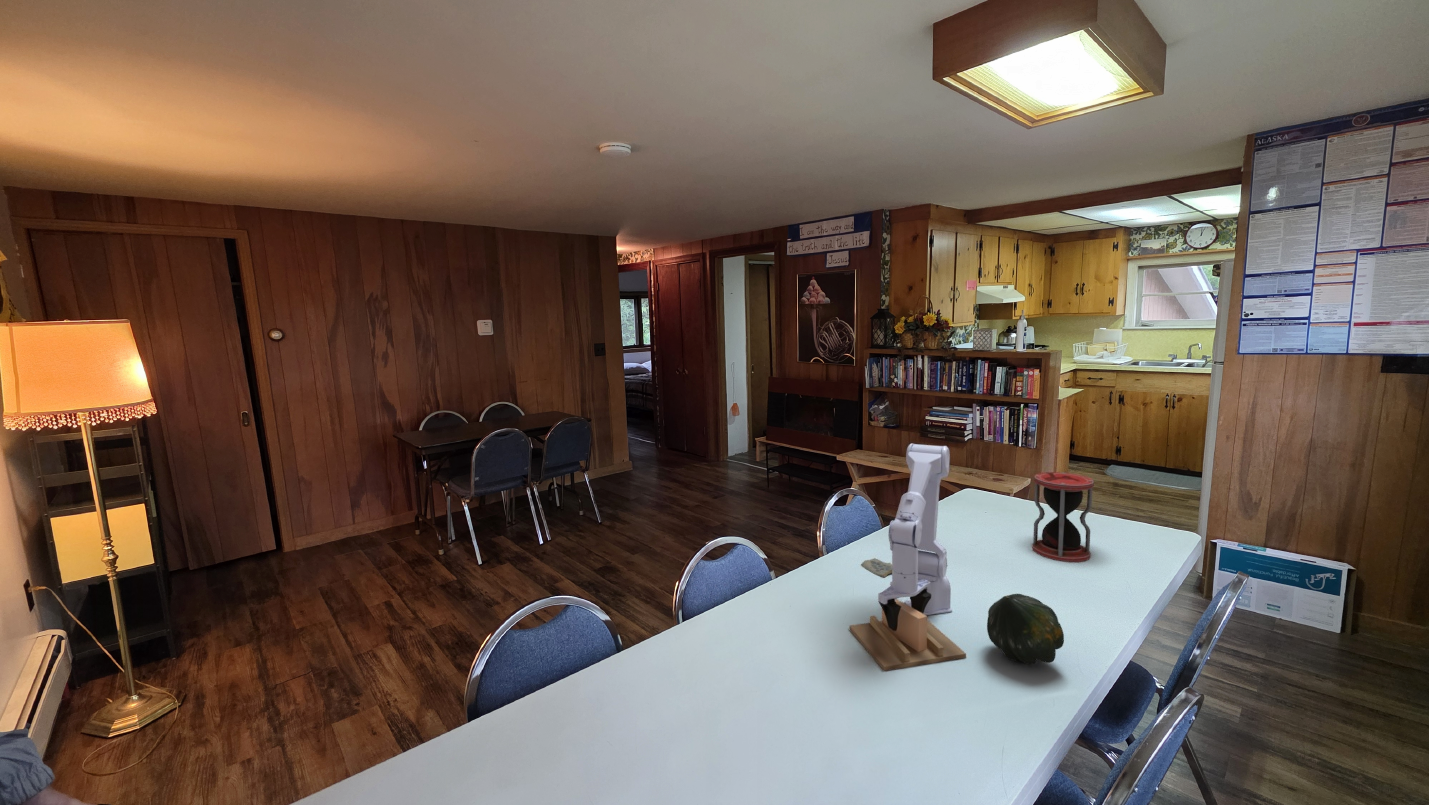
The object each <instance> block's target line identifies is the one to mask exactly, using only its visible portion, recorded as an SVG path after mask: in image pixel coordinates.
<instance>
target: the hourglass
mask: <svg viewBox="0 0 1429 805" xmlns="http://www.w3.org/2000/svg"><path fill="white" fill-rule="evenodd" d="M1033 477H1034V479H1033V480H1034V482H1035V484H1034V504H1035V506H1036V507H1037V508H1038V511H1039V515H1038V518H1036V519H1035V521H1034V522H1033V538H1032V539H1033V541H1032V543H1031V548H1032V551H1033V552H1035V553H1036V554H1037V555H1039V556H1041V557H1043V558H1046V559H1049V560H1053V561H1058V562H1063V563H1069V564H1070V563H1073V564H1074V563H1076V564H1077V563H1079V564H1080V563H1083V562H1087V561H1090V559H1091V554H1092V553H1091V551H1090V548H1091V547H1090V546H1091V544H1090V543H1091V528H1090V526H1088V524H1087V523H1086V516H1087V515H1088V514H1089V512H1091V509H1092V505H1093V504H1092V503H1093V502H1092V501H1093V500H1092V499H1093V488H1094V485H1095V482H1094V480H1093V479H1092V478H1090V477H1088V476H1084V475H1082V474H1075V473H1069V472H1059V471H1057V472H1056V471H1055V472H1054V471H1053V472H1049V471H1048V472H1040V473H1036V474H1034V476H1033ZM1040 486H1041V487H1043V491H1042V492H1043V499H1044V502H1046V504H1047V506H1048V507H1049V508H1050V509H1051V510H1052V511H1053V512H1054V513H1055V514H1056V517H1053V519H1052V520H1050V521H1049V522H1048V523H1047V524H1046V525H1045V526H1044V527H1043V529H1042V532H1041V539H1038V530H1039V523H1040V522H1041V521H1042V520H1043V519H1044V517H1045V510H1044V509H1045V508H1043V506H1041V504H1040ZM1085 490H1086V491H1087V498H1086V500H1087V501H1086V508H1085V509H1084V510H1083V511H1082V512H1081V514H1080V516H1079V521H1080V524H1081V525H1082V526H1083V527H1084V529H1085V543H1084V544H1085V546H1083V545H1081V544H1082V537H1081V533H1080V531H1079V529H1078V528H1077V527H1076V526H1075V524H1074V523H1073V522H1072V521H1071V520H1070V519H1069V518H1068V517H1067V516H1069V515H1070V514H1071V513H1072V512H1074V511H1075V510H1076V509H1078V508H1079V507H1080V505H1081V504H1082V502H1083V499H1084V493H1083V492H1084V491H1085Z"/></svg>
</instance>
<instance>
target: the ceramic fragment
mask: <svg viewBox="0 0 1429 805" xmlns="http://www.w3.org/2000/svg"><path fill="white" fill-rule="evenodd" d="M860 566H861V567H862V568H864V569H865V570H867V571H868V572H870V573H872V574H874V575H876V576H878V577H881V578H886V577H887V576H888V575H889V574H892V562H884V561H881V560H880V559H878V558H871V559H867V560H864V561H863V562H862V563H861V564H860Z"/></svg>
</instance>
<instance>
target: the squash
mask: <svg viewBox="0 0 1429 805" xmlns="http://www.w3.org/2000/svg"><path fill="white" fill-rule="evenodd" d="M986 631H987V635H988V638H989V640H990V641H991V642H992V643H993V645H994V646H995V647H996V648H998V649H999V650H1001V651H1002V653H1003V655H1004V657H1006V658H1007V659H1009V660H1012V661H1013V662H1015V663H1016V662H1017V663H1018V662H1022V663H1024V664H1026V665H1033V664H1034V663H1036V661H1037V660H1038V661H1040V662H1043V663H1045V664H1049V663H1053V662H1054V661H1055V659H1056V652H1057V651H1056V650H1058V649H1061V648H1062V647H1063V646H1064V644H1065V635H1064V631H1063V627H1062V625H1061V623H1060V622H1059V619H1058V616H1057V614H1056V613H1055V611H1054V609H1052V607H1050V606H1048V605H1047V604H1044V602H1042V601H1041V600H1039V599H1037V598H1035V597H1031V596H1029V595H1025V594H1022V593H1013V594H1008V595H1004V596H1002V597H1001V598H1000V599H998V600H996V601H995V602H993V603H992V605H990V607H989V609H988V611H987V621H986Z"/></svg>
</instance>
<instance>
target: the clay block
mask: <svg viewBox="0 0 1429 805" xmlns="http://www.w3.org/2000/svg"><path fill="white" fill-rule="evenodd" d="M895 602H896V604H898V605H900V606H901V609H900V612H899V615H898V627H897V630H896V631H893V630H892V629H890V628H889V627H888V623H887V619H886V616H885V613H884V611H883V609H882V608H881V621H882V624H883V625H884V626H885V627H886V628H887V629H888V630H889V631H890V632H891V633H892V634H893V635H894V636H895V637H896V638H898V639H899V640H901V641H903V642H904V643H906V644H907V645H909V646H910V647H912V648H913V649H915V650H916V651H918V652H920V651H923V650H925V649H927V620H928V615H924V614H922V613H921V612H919V611H917V610H915V609H913V608H912V607H910V606H908V605H907V604H906V603H905V602H902V600H899V598H898V599H895Z"/></svg>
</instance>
